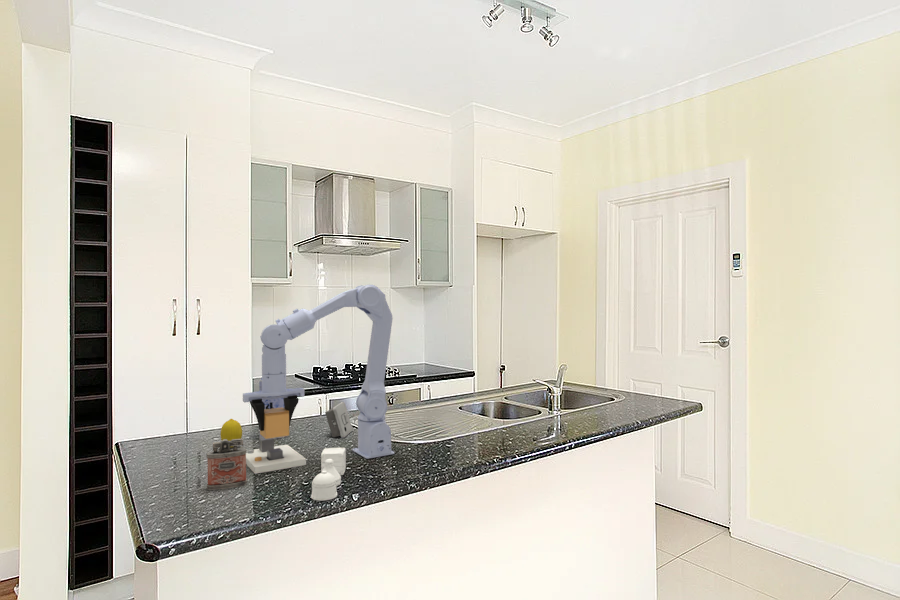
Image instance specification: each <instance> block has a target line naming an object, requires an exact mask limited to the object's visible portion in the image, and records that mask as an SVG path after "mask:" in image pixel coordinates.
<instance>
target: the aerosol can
mask: <svg viewBox="0 0 900 600" xmlns="http://www.w3.org/2000/svg"><path fill="white" fill-rule="evenodd" d="M258 389H259V390H258V391H262V378H260V379H259V385H258ZM281 396H283V395H281ZM268 397H274V396H268ZM262 401H263V403H264V404H265V407H264V409H272V408H281V407H283V408H284V400H283V398H278V399H269V400H262ZM258 437H259V438H264V437H263V436H262V435H261V434H260V433H259V435H258ZM285 437H286V436H282V437H275V438H273V439H274V440H276V439H282V438H285Z"/></svg>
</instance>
